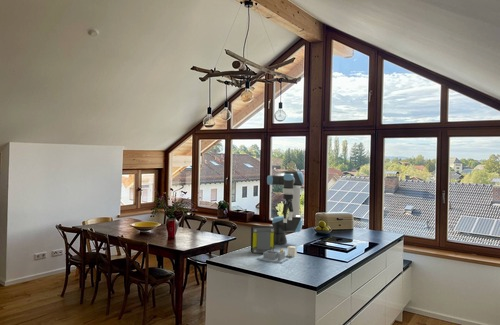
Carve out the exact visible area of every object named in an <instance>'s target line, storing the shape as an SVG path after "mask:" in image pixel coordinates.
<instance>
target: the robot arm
mask: <svg viewBox="0 0 500 325" xmlns="http://www.w3.org/2000/svg"><path fill="white" fill-rule="evenodd" d="M304 181H305V180H304V173H303V172H302V171H297V170H283V171H279V172H277V173H276V174H275V175H272V174H271V175H267V177H266V183H267V185H270V186H283V189H282V191H283V196H282V198H283V199H284V200H283V207H282V216H281V215H280V216H275V217H273V218H272V225H271V226H273V227H274V245H286V244H288V240H287V236H286V232H287V233H288V232H291V233H300V232H302V228H303V222H304V221H303V218H302V216H301V215H300V212H301V211H300V207H301V188H302V187H303V185H305V182H304Z"/></svg>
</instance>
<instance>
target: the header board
mask: <svg viewBox="0 0 500 325" xmlns="http://www.w3.org/2000/svg"><path fill="white" fill-rule="evenodd" d="M256 260H259V261H265V262H270V263H271V262H272V263H276V264H283V263H285V262H287V261H288V260H289V258H288V257H286V251H284V248H281V249H280V250H279V251H275V250H274V251H270V250H268V251H266V252H263V253H262V255H260V256H258V257H257V258H256Z"/></svg>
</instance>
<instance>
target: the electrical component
mask: <svg viewBox="0 0 500 325" xmlns="http://www.w3.org/2000/svg"><path fill="white" fill-rule="evenodd" d="M274 249H275V244H274V227H273V226H272V225H257V226H256V225H255V226H253V225H251V226H250V253H251V254H263V252H266V251H268V250H270V251H275V250H274Z"/></svg>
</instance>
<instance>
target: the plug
mask: <svg viewBox="0 0 500 325" xmlns="http://www.w3.org/2000/svg"><path fill="white" fill-rule="evenodd" d="M286 253H287V257H292V258H295V257H297V255H298V246H294V245H288V246H287V252H286Z"/></svg>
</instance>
